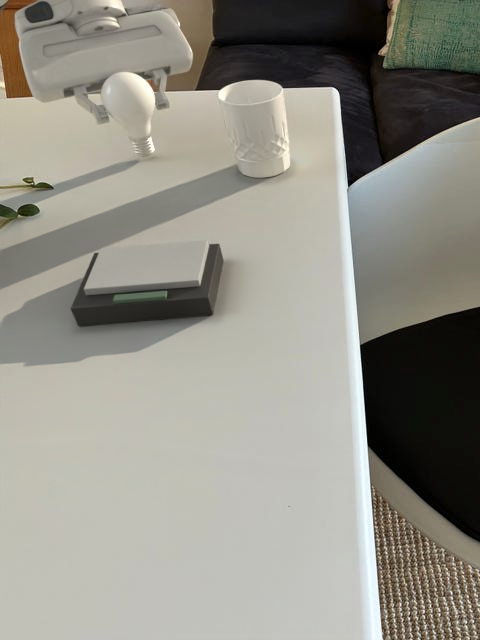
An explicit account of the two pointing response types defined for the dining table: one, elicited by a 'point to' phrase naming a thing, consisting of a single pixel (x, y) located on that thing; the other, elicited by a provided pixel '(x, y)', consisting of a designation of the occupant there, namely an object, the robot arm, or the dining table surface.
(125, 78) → the lightbulb
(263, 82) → the white cup
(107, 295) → the scale
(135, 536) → the dining table surface
